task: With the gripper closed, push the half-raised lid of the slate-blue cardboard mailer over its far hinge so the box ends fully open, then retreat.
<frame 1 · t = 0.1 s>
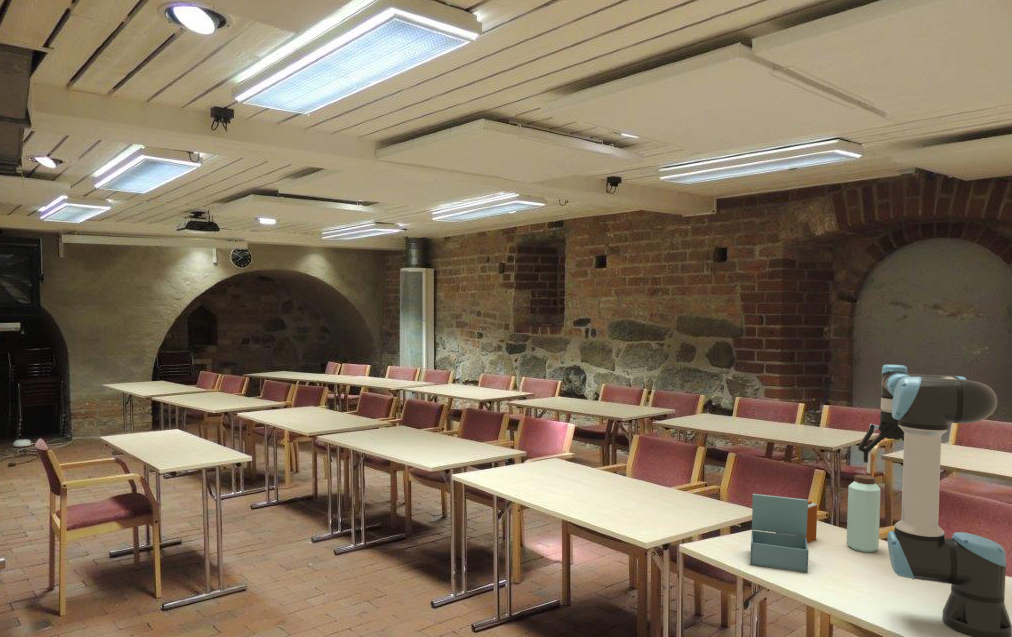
hand: (891, 474, 234), 28 cm above the table, fingers open, 13 cm apart
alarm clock: (796, 540, 250), on the table
water bottle: (862, 548, 243), on the table
mailer: (778, 561, 229), on the table
lid: (779, 514, 233), point 14 cm above the table, hinge at 70.0°
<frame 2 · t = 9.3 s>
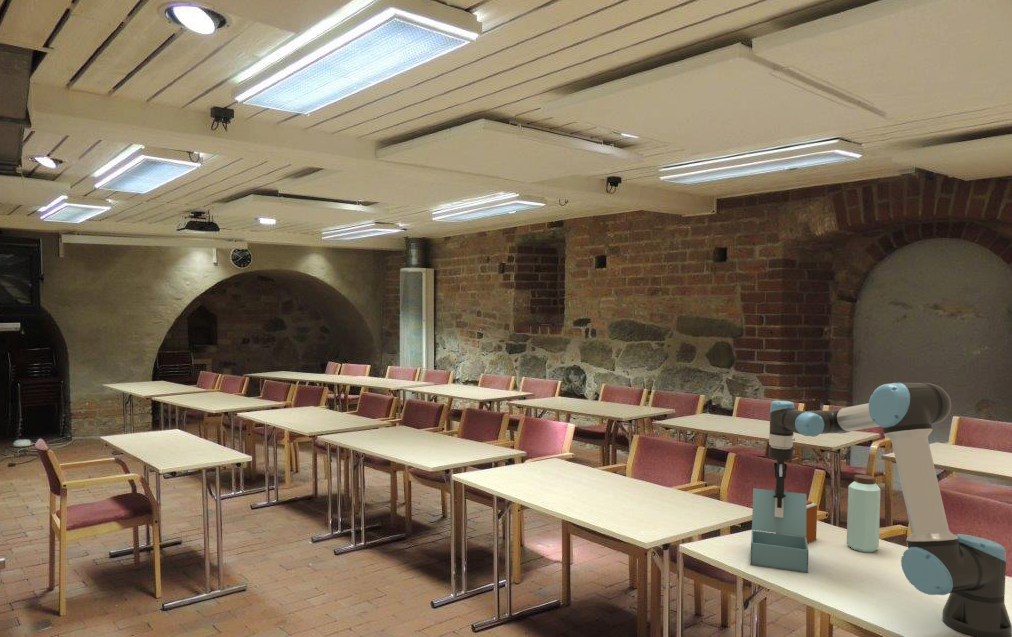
hand: (778, 516, 236), 12 cm above the table, fingers closed
lid: (779, 512, 238), point 13 cm above the table, hinge at 114.0°, touching gripper
everything else where it was.
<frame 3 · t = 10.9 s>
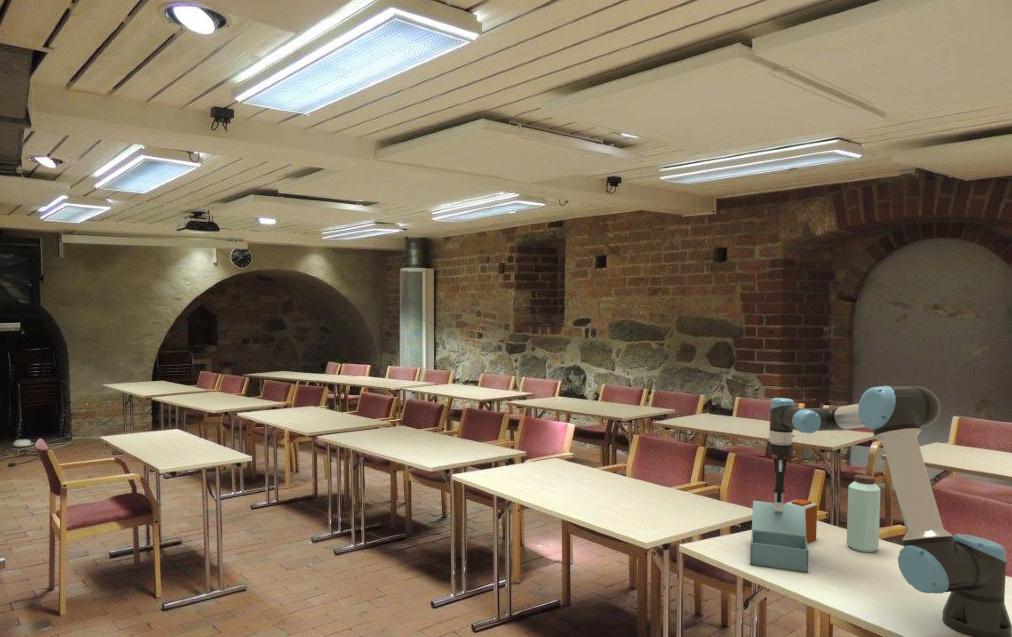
hand: (778, 510, 243), 13 cm above the table, fingers closed
lid: (778, 518, 241), point 10 cm above the table, hinge at 150.7°, touching gripper
everything else where it was.
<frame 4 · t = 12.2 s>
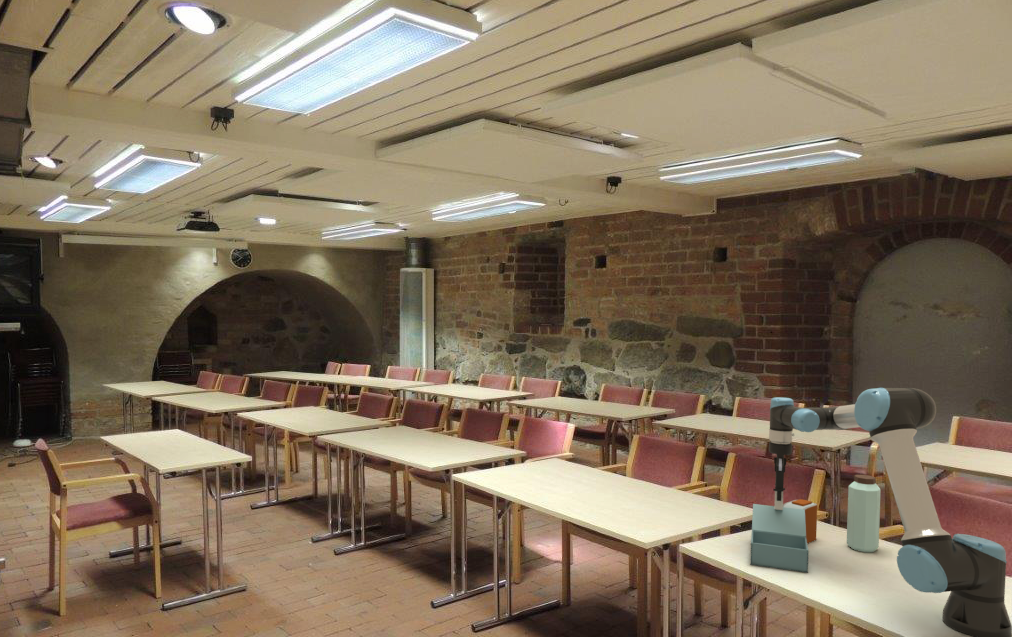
hand: (778, 509, 245), 12 cm above the table, fingers closed
lid: (778, 520, 241), point 10 cm above the table, hinge at 156.7°, touching gripper
everything else where it was.
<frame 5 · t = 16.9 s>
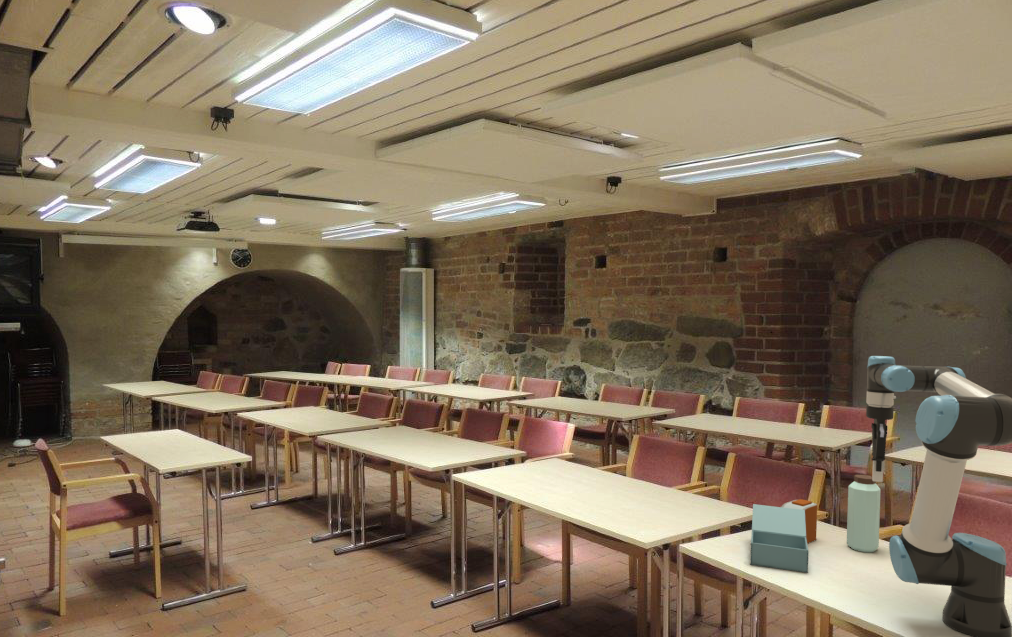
hand: (877, 481, 218), 29 cm above the table, fingers closed
lid: (778, 520, 241), point 10 cm above the table, hinge at 157.2°
everything else where it was.
at the end: lid at +157° (first picture: +70°) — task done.
